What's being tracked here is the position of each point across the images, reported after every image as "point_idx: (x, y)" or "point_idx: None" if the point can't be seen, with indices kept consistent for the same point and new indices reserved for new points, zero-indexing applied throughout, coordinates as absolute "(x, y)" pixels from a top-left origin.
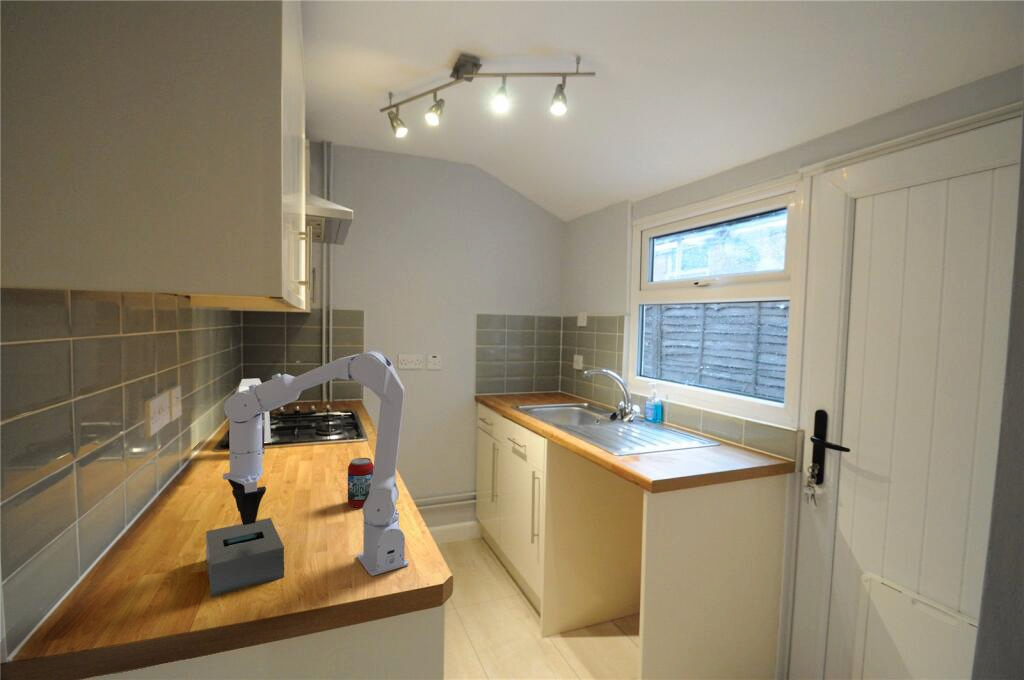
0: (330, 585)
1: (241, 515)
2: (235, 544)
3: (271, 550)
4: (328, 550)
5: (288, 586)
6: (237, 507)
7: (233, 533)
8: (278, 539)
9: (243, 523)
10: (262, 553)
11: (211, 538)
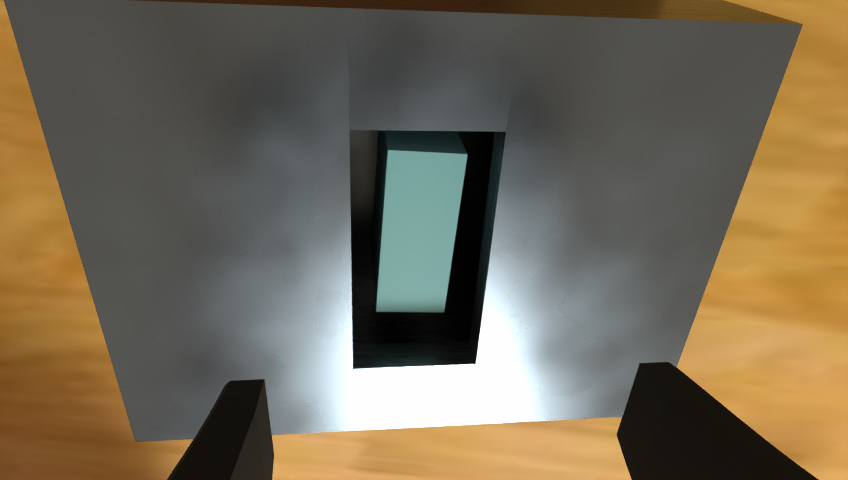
0: (15, 443)
1: (172, 473)
2: (458, 193)
3: (121, 383)
4: (353, 473)
5: (77, 316)
6: (667, 389)
7: (575, 211)
8: (276, 426)
9: (218, 397)
10: (110, 336)
11: (605, 52)
